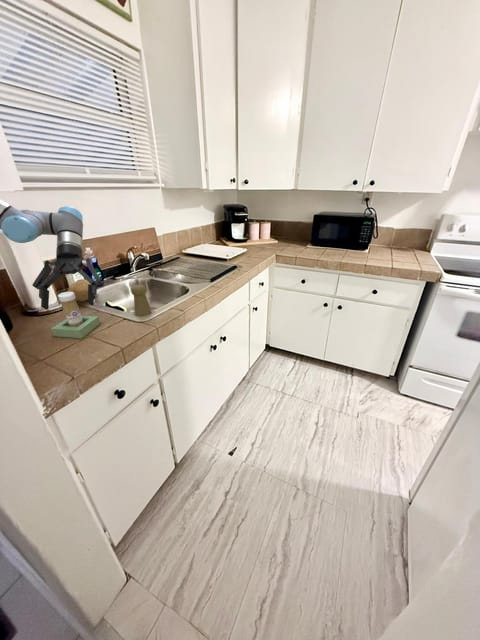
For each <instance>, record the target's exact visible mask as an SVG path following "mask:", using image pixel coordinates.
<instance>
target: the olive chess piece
mask: <svg viewBox="0 0 480 640" xmlns="http://www.w3.org/2000/svg"><path fill="white" fill-rule="evenodd" d="M130 291H131V294H132V295H133V304H134V305H133V306H134V315H135V316H138V317H142V316H147V315H149V314H150V313H152V309H151V307H150V303H149V301H148V298H147V295H146V294H147V288H146V286H145V285H143V284H136V285H133V286H132V287H131V289H130Z"/></svg>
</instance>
